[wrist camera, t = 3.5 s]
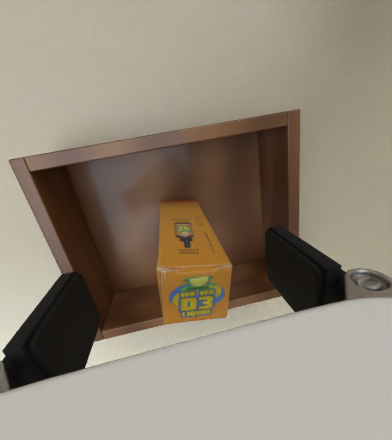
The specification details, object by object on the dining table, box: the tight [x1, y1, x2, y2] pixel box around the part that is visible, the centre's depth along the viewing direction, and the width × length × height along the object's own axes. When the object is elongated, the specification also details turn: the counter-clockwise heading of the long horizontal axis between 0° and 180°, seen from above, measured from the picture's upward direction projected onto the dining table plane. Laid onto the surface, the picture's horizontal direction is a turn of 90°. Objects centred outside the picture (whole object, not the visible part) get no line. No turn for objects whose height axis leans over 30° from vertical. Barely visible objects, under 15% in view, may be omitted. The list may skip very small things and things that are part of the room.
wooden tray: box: [9, 109, 300, 341], centre depth 16 cm, size 17×14×5 cm
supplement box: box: [156, 201, 233, 324], centre depth 14 cm, size 3×3×10 cm
